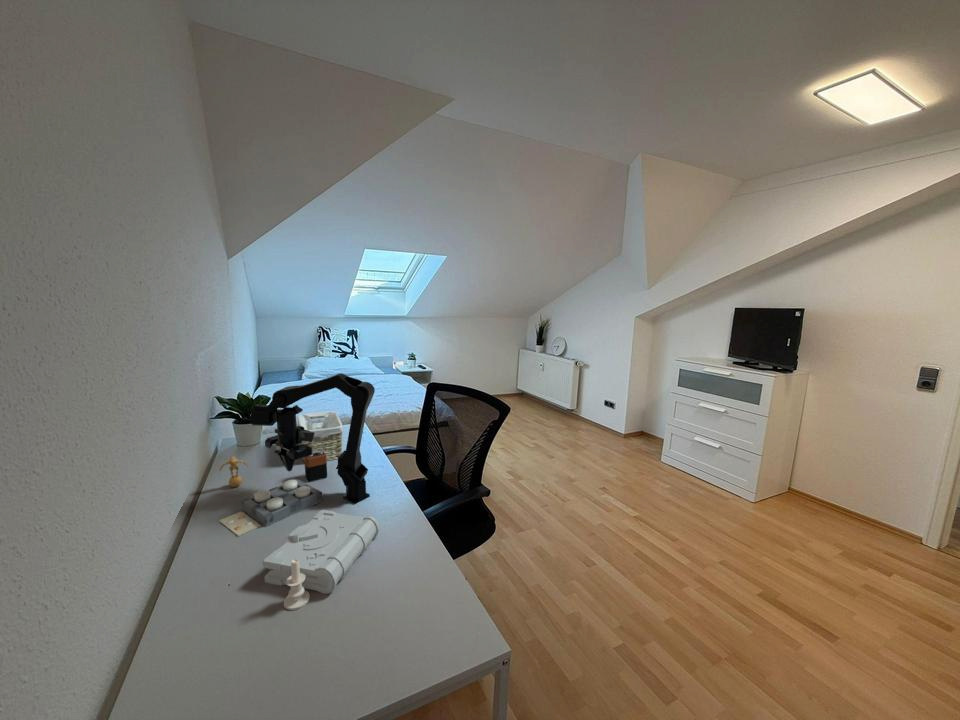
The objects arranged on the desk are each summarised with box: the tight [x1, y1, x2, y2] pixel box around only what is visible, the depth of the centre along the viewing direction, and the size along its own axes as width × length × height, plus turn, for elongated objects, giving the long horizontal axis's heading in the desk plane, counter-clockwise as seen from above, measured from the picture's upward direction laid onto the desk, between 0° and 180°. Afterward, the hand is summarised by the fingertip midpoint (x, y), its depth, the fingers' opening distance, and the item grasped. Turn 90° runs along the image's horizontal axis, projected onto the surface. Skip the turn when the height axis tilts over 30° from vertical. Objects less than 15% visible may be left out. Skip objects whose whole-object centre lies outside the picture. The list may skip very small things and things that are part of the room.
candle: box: [283, 559, 311, 611], centre depth 84 cm, size 5×5×10 cm
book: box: [262, 509, 380, 595], centre depth 101 cm, size 19×28×8 cm
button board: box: [241, 478, 324, 527], centre depth 123 cm, size 15×18×3 cm
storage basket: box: [296, 410, 344, 462], centre depth 163 cm, size 24×16×15 cm
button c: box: [267, 497, 283, 511], centre depth 116 cm, size 4×4×2 cm
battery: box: [304, 450, 328, 483], centre depth 141 cm, size 4×7×10 cm, turn 127°
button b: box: [282, 479, 298, 492], centre depth 128 cm, size 4×4×2 cm
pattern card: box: [219, 511, 261, 537], centre depth 112 cm, size 12×6×1 cm, turn 56°
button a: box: [295, 486, 310, 499], centre depth 124 cm, size 4×4×2 cm
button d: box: [253, 489, 271, 503], centre depth 121 cm, size 4×4×2 cm
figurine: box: [219, 455, 249, 488], centre depth 132 cm, size 8×6×12 cm
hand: (289, 470), depth 127 cm, fingers closed
